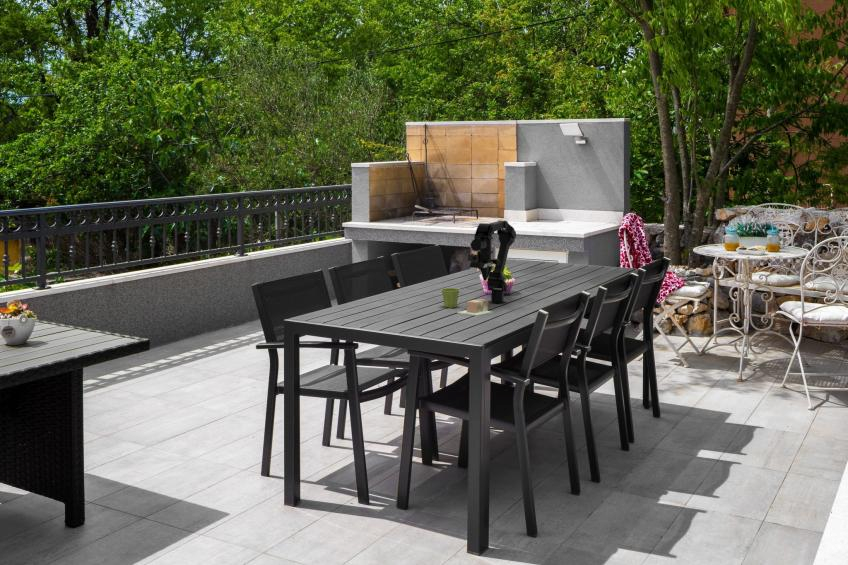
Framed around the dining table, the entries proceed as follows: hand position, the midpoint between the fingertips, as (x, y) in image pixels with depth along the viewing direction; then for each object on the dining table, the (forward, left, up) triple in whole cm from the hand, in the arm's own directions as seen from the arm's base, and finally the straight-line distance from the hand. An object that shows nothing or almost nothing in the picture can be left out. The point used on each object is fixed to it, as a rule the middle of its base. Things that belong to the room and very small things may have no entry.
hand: (485, 280), depth 464 cm
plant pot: (+11, -13, -13) cm, 22 cm away
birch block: (+10, +6, -10) cm, 15 cm away
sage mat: (+17, +6, -13) cm, 22 cm away
